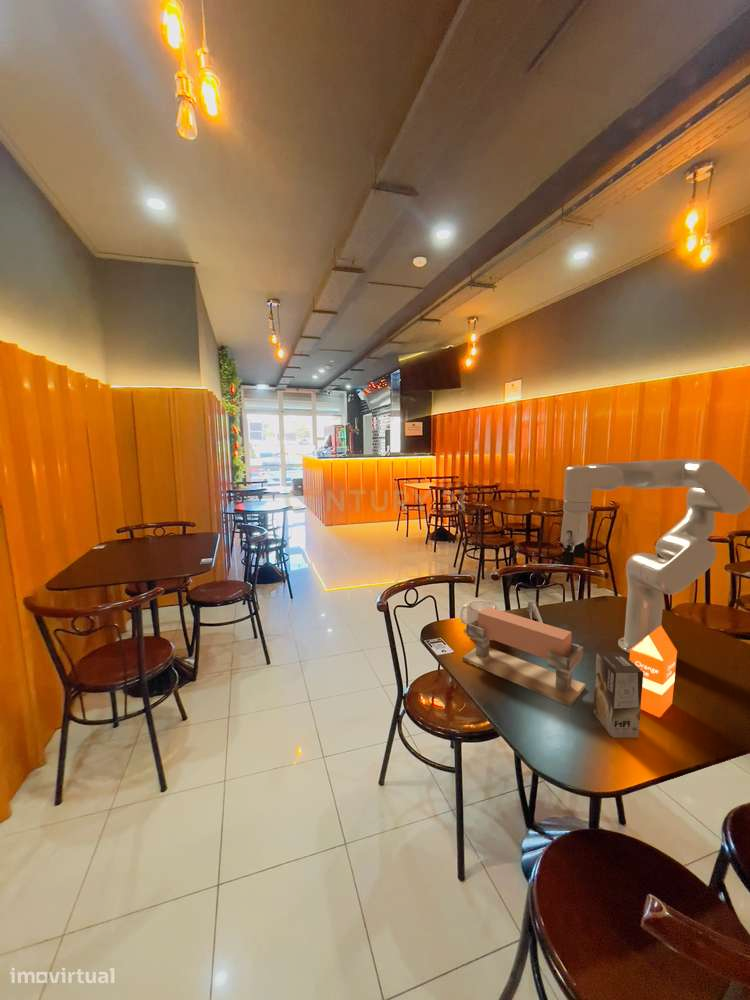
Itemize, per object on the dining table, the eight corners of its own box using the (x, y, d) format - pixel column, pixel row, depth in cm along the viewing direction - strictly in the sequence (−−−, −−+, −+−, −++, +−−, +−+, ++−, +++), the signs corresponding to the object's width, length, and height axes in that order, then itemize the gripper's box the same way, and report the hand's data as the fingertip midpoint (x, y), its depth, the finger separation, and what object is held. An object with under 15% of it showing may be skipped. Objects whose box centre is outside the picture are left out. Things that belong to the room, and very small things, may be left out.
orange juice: (672, 703, 103) (679, 630, 100) (660, 718, 98) (667, 640, 95) (638, 689, 109) (644, 619, 107) (624, 702, 104) (630, 629, 101)
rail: (570, 656, 110) (571, 631, 109) (561, 664, 106) (563, 639, 105) (487, 627, 127) (488, 606, 126) (477, 634, 123) (478, 612, 122)
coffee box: (640, 738, 91) (645, 672, 89) (611, 738, 92) (616, 672, 89) (617, 711, 100) (621, 651, 98) (591, 711, 101) (595, 651, 98)
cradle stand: (584, 687, 110) (587, 646, 109) (570, 706, 103) (572, 662, 101) (480, 647, 133) (481, 613, 131) (462, 660, 125) (463, 624, 123)
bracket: (534, 610, 156) (539, 593, 151) (549, 659, 139) (555, 641, 133) (526, 610, 157) (530, 592, 151) (539, 659, 139) (545, 641, 133)
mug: (452, 631, 145) (452, 603, 143) (468, 622, 151) (469, 595, 150) (485, 644, 135) (486, 614, 133) (501, 634, 142) (502, 605, 140)
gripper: (574, 502, 131) (571, 553, 133) (553, 509, 119) (550, 564, 121) (599, 504, 126) (595, 557, 128) (580, 511, 114) (576, 570, 116)
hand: (573, 561), depth 125 cm, fingers open, 9 cm apart
